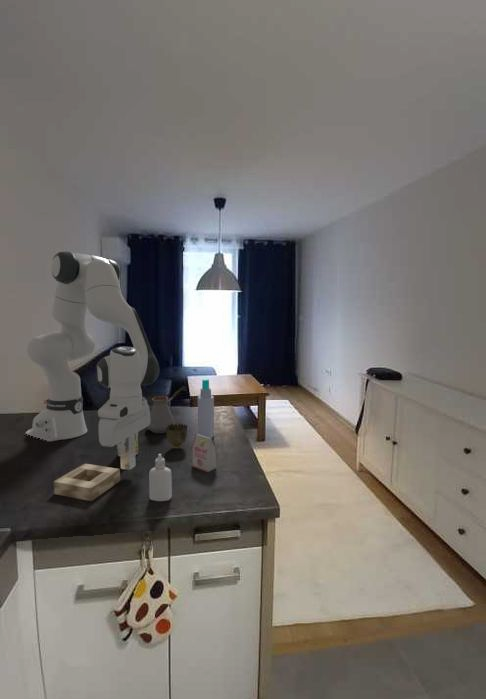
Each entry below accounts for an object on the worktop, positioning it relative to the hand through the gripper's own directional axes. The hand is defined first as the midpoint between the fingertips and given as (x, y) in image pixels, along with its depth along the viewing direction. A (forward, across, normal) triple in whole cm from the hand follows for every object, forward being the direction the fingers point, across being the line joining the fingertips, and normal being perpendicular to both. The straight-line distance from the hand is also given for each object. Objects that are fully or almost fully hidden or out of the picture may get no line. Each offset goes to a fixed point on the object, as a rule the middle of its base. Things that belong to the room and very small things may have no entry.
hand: (127, 450), depth 112 cm
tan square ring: (+8, +9, -7) cm, 14 cm away
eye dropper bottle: (+8, +8, +15) cm, 19 cm away
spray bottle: (+8, -38, +8) cm, 40 cm away
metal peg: (+5, 0, 0) cm, 5 cm away
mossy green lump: (+8, -24, +3) cm, 26 cm away
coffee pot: (+8, -44, -11) cm, 46 cm away
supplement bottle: (+8, -14, -10) cm, 19 cm away
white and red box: (+8, -13, +18) cm, 24 cm away
